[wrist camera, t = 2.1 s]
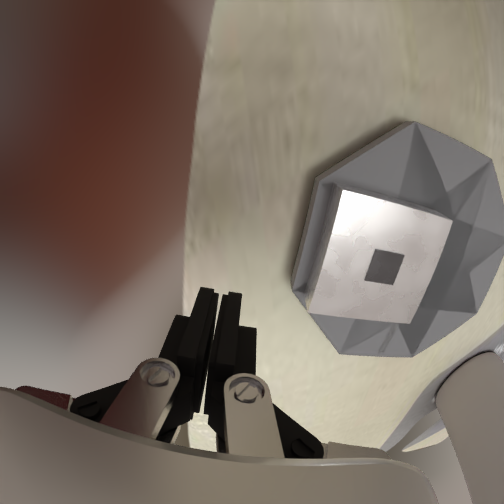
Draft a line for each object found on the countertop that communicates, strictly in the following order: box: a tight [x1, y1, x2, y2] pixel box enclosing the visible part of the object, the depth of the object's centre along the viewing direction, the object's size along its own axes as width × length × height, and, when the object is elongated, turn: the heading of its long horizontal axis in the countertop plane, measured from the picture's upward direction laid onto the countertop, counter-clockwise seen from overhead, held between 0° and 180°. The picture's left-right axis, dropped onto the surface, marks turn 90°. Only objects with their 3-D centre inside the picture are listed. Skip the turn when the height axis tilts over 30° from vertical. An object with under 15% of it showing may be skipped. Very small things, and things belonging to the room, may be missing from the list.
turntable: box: [291, 121, 504, 357], centre depth 22 cm, size 21×21×2 cm
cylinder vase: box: [436, 352, 504, 504], centre depth 20 cm, size 12×12×25 cm
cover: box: [304, 182, 453, 324], centre depth 20 cm, size 9×9×3 cm
